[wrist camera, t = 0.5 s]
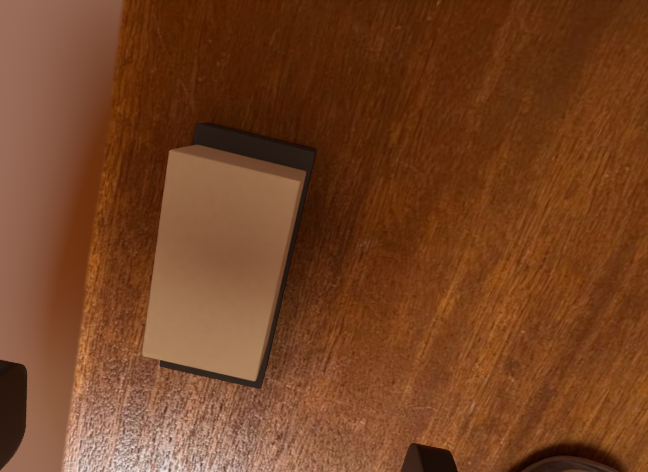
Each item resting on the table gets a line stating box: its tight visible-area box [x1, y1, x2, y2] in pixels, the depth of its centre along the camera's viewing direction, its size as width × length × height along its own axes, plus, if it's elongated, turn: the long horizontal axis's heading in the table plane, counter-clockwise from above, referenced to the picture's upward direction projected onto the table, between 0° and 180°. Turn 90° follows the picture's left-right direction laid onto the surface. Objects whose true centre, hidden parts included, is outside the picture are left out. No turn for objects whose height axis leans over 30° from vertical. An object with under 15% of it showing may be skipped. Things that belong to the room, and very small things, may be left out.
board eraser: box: [142, 123, 317, 389], centre depth 22 cm, size 14×6×6 cm, turn 166°
